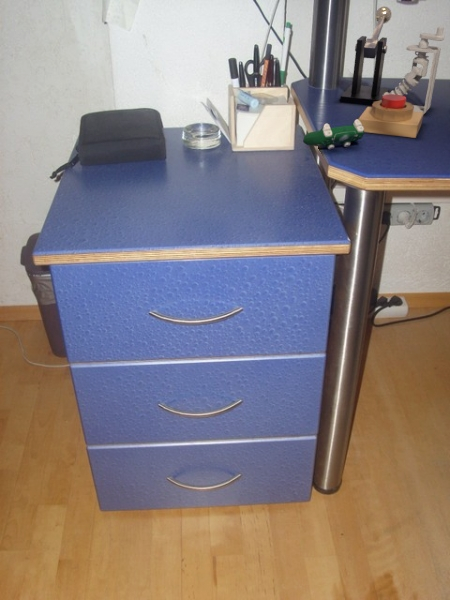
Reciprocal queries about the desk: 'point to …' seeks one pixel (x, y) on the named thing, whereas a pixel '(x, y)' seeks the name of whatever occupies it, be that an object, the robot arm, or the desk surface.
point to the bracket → (356, 91)
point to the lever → (376, 32)
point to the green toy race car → (335, 135)
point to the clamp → (419, 72)
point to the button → (393, 101)
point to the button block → (391, 120)
